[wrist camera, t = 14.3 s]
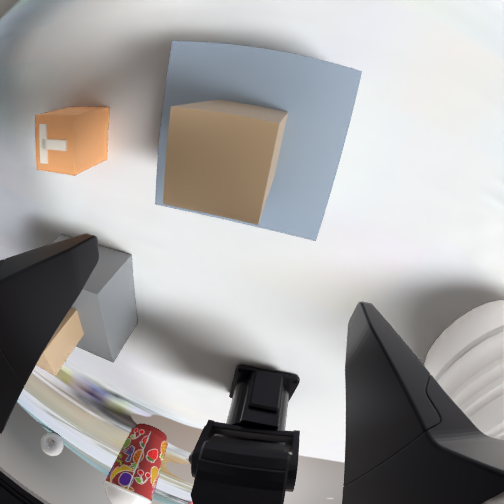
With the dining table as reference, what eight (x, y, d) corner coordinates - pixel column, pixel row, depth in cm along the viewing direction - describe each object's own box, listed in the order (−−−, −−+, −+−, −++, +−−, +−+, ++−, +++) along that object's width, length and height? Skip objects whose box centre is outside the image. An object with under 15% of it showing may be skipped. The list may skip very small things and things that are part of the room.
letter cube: (107, 159, 20) (73, 176, 16) (70, 154, 20) (35, 170, 16) (110, 107, 18) (73, 115, 14) (71, 106, 18) (33, 115, 14)
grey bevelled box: (137, 322, 28) (89, 405, 19) (74, 299, 28) (21, 366, 19) (131, 254, 24) (59, 342, 15) (61, 234, 24) (-13, 300, 15)
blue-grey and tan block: (312, 200, 19) (317, 310, 10) (191, 174, 19) (101, 254, 10) (344, 77, 15) (397, 60, 6) (208, 53, 15) (107, 25, 6)
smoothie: (127, 413, 42) (85, 508, 25) (173, 430, 41) (137, 532, 24) (133, 430, 46) (99, 514, 29) (174, 445, 46) (144, 533, 29)
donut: (50, 430, 75) (39, 450, 66) (45, 426, 73) (34, 446, 64) (69, 441, 73) (58, 461, 65) (64, 437, 71) (53, 458, 63)
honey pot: (419, 394, 28) (435, 533, 13) (428, 319, 22) (475, 518, 7) (507, 365, 24) (543, 486, 9) (534, 285, 18) (611, 431, 3)
